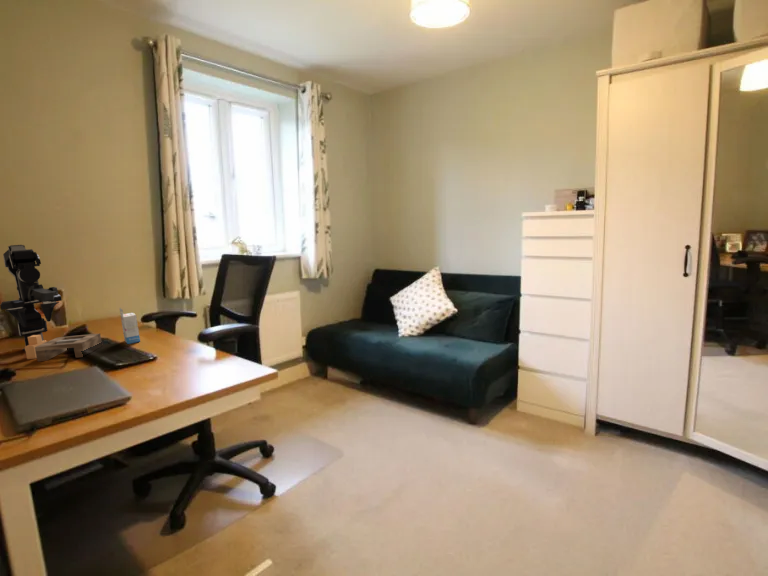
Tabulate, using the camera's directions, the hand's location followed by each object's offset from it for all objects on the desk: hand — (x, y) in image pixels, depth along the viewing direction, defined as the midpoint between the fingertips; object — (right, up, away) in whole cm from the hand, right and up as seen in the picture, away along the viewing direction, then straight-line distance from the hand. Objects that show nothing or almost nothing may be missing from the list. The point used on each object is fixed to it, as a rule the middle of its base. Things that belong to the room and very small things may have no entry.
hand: (37, 323), depth 158 cm
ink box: (+24, -9, +20) cm, 33 cm away
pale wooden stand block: (-5, -13, +7) cm, 16 cm away
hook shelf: (+8, -12, +7) cm, 16 cm away
